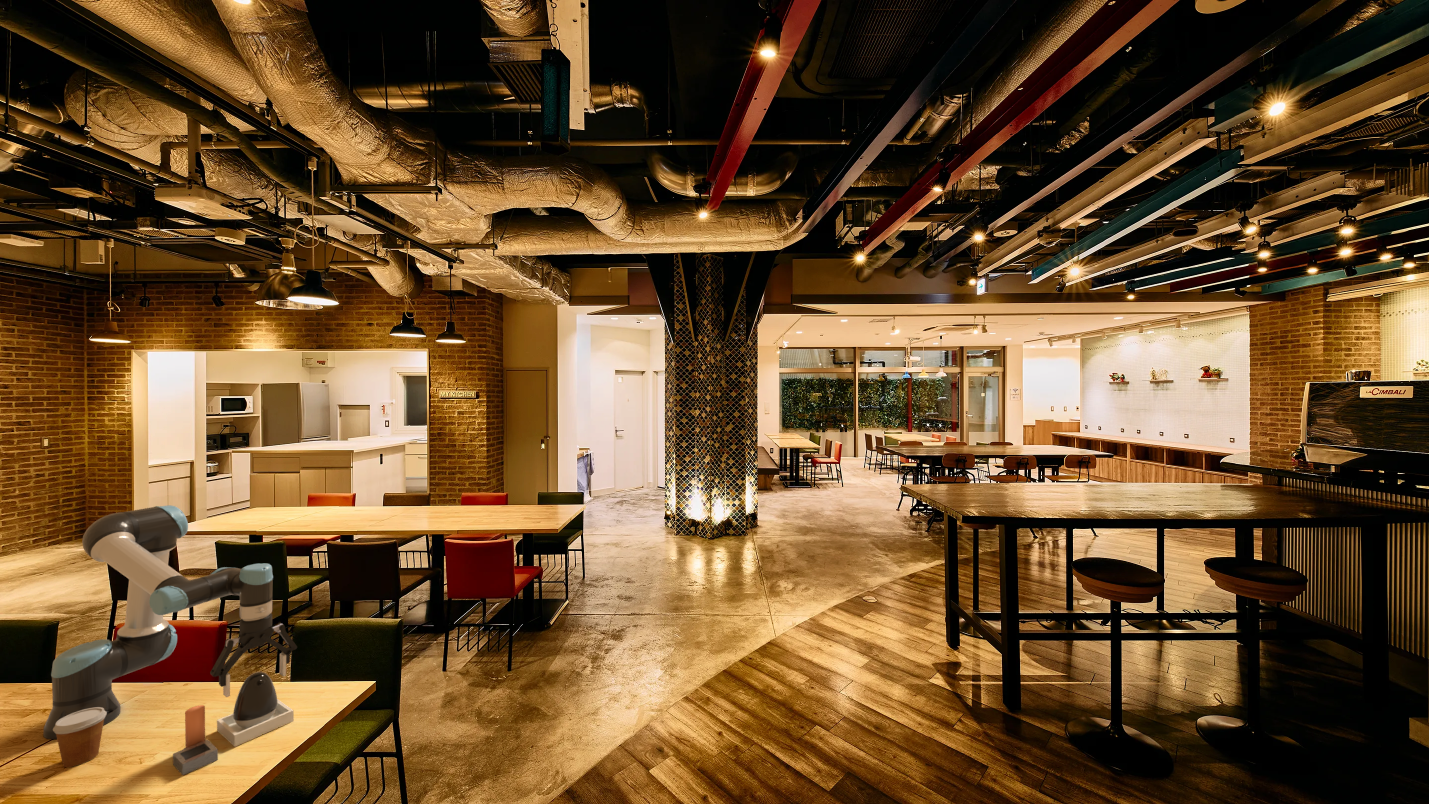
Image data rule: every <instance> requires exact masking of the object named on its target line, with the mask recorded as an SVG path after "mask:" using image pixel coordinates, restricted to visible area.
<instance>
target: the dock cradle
mask: <svg viewBox="0 0 1429 804" xmlns="http://www.w3.org/2000/svg"><path fill="white" fill-rule="evenodd" d="M294 718H295V717H294V709H292V708H291V707H290V706H288V705H287V704H285V703H284V702H283V701H281V700H280V699H278V698H277V707H276V709H275V712H274V714H273V715H272V717H271V718H270V719H269V720H266V721H264V722H262V723H259V724H257V725H255V726H252V727H250V728H243V727H240V726H238V725H237V724H236V722H235V720H234V719H233V713H231V714H229V715H226V716H223V717H221V718H218V719H217V720H216V731H217V732H218V733H219V734H220V735H221V736H222V737H223V738H225V739H226V740H227V742H229V743H230V744H231V745H232V747H235V748H236V747H237V746H240V745H242V744H244V743H246V742H249V741H252V740H253V739H257V738H258V737H260V736H262V734H263V735H264V734H267V733H270V732H271V731H274V730H276V729H278V727H279V728H280V727H283V726H285V725H288V724H290V723H292V722H294Z"/></svg>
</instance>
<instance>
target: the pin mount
mask: <svg viewBox="0 0 1429 804" xmlns="http://www.w3.org/2000/svg"><path fill="white" fill-rule="evenodd" d="M218 754H219V749H218V748H217V747H216V746H215V745H214V744H213V743H212V742H211V740H209V739H208V738H206V739H205V741H202V742H200V743H198V744H195V745H193V746H190V747H188V748H186V749H184V748H182V749H181V750H178V751H175V752H174V753H172V765H173V767H175V769H176V771H177V770H178V772H179V773H180V774H181V775H182V776H185V775H187V774H189V773H192V772H194V771H196V770H198V769H201V768H203V767H205V766H208V765H209V764H212V763H214V762H216V761H218V760H219V755H218Z"/></svg>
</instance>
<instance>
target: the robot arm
mask: <svg viewBox="0 0 1429 804" xmlns="http://www.w3.org/2000/svg"><path fill="white" fill-rule="evenodd" d="M188 530H189V523H188V519H187V517H186V515H185V513H184V512H183V511H182V510H181V509H180V508H179V507H178V506H176V505H162V506H161V505H160V506H157V505H156V506H153V507H147V508H146V507H145V508H140V509H135V510H130V511H129V510H127V511H123V512H120V511H119V512H114V513H109V514H108V515H107V514H106V515H104V516H103V517H101V518H98V519H97V520H96V521H94V522H93V523H92V524H91V525H90V526H88V528H87V529H86V530H85V532H84V534H83V536H82V542H81V543H82V549H83V550H84V552H85V553H86V554H87V556H89V557H90V558H91V559H93V560H94V561H96V562H100V563H106V564H108V565H109V566H110V567H111V568H113V569H114V570H115V571H117V572H119V573H120V575H123V576H124V577H126V578H127V579H128V587H127V599H126V609H125V620H124V625H123V626H121V627H120V628H119V629H118V630H117V633H116V638H115V639H114V640H112V641H111V640H110V639H97V640H93V641H89V642H84V643H81V644H79V645H76V646H73V647H71V648H69V649H67V650H65V651H63V652H62V653H60V654H59V655H57V657H55V659H54V660H53V661H52V668H51V672H50V676H51V685H52V686H51V687H52V707H51V710H50V713H49V715H48V717H47V720H46V721H45V725H44V726H43V738H45V739H49V740H57V736H56V733H55V732H54V731H53V728H54V727H55V724H56V722H57V721H58V720H60V719H61V718H63V717H65V716H67V715H69V714H72V713H74V712H77V711H81V710H84V709H89V708H95V707H101V708H104V710H105V711H106V712H107V715H106V716H105V718H104V723H103V726H104V725H106V724H108V723H110V722H112V721H114V720H115V719H116V718H118V716H120V714H121V713H122V711H121V704H120V702H119V700H118V698H117V696H116V695H115V693H114V691H113V687H112V686H113V685H112V684H113V682H112V681H113V680H115V679H117V678H119V677H122V676H125V675H127V674H130V673H133V672H136V671H138V670H141V669H144V668H146V667H150V666H153V665H155V664H157V663H159V662H161V661H164V660H165V659H168V658H169V657H170V656H171V655H172V653H174V650H175V648H176V646H177V643H178V634H177V633H176V632H177V630H176V629H175V627H174V626H173V625H172V624H170V622H169V621H168V620H167V619H164V616H166V615H168V614H172V613H178V612H181V611H183V610H186V609H190V608H192V607H195V606H198V605H202V604H204V603H208V602H211V601H215V600H216V599H220V598H223V597H227V596H231V595H232V596H239V619H240V620H239V635H238V637H235V638H230V637H229V638H227V639H225V640H224V641H225V642H224V647H223V649H222V650H221V652H220V655H219V656H218V658H217V660H216V661H215V663H214V665H213V667H212V669H211V670H210V672H209V673H210V675H211V676H212V677H213V678H216V677H218V685H219V686H220V688H223V689H222V694H223V696H224V697H225V698H228V697H231V674H230V673H229V672H230V671H231V669H232V668H233V667H234V666H235V664H236V663H237V662H238V661H239V659H240V658H241V657H242V656H243V655H244V654H245V653H246V652H247V651H248V650H249V649H250V650H251V649H252V650H253V649H255V648H257V647H262V646H264V645H265V644H266V643H268V644H270V645H271V646H273V647H274V648H276V649H278V650H280V651H281V653H279V675H280V676H282V677H285V676H287V664H290V661H291V654H292V651H295V650H297V648H298V646H297V644H296V643H295V641H293V639H292V637H291V636H290V635H289V634H288V632H287V631H286V626H285V624H283V623H281V622H278V623H277V625H275V626H273V614H272V612H273V580H274V575H273V566H272V565H271V564H270V563H253V564H248V565H246V566H244V567H242V568H238V567H234V566H233V567H227V566H226V567H225V566H224V567H220V568H217V569H216V570H214V571H213V572H211V573H210V574H208V575H204V576H201V577H197V578H193V579H188V578H187V577H185V576H183V575H182V574H181V573H180V572H178V571H176V569H174V568H173V567H171V566H170V565H169V558H170V551H172V550H173V549H175V548H176V547H177V544H178V543H177V542H178V539H181V538H184V536H185V535H186V534H187V533H188ZM274 632H276V633H278V634H279V635H280V636H281V638H282V639H283V641H284V642H285V643H286V644H287V645H288V646H287V647H286V646H284V645H282V644H281V643H279V642H278V641H276V640H274V639H273V638H271V636H272V635H273V633H274ZM237 643H239V645H238V646H237V647H236V650H235V651H234V653H233V654H232V655H231V656H230V654H231V653H232V650H233V648H234V647H235V646H236V644H237ZM229 656H230V657H229Z"/></svg>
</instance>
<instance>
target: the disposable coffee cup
mask: <svg viewBox="0 0 1429 804" xmlns="http://www.w3.org/2000/svg"><path fill="white" fill-rule="evenodd" d="M106 715H107V712H106V711H105V710H104V708H101V707H95V708H89V709H84V710H81V711H77V712H74V713H72V714H69V715H67V716H65V717H63V718H61V719H60V720H58V721H57V722H56V724H55V727H54V728H53V731H54V732H55V733H56V736H57V739H56V740H57V745H58V749H59V752H60V753H59V754H60V758H61V762H62V766H63V767H65V768H70V767H71V768H72V767H76V766H79V765H83V764H85V763H88V762H89V761H91V760H93V759H95V758H96V757H97V756H98V755H99V751H100V744H101V740H102V735H103V734H102V733H103V728H104V725H103V723H104V718H105V716H106Z"/></svg>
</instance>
